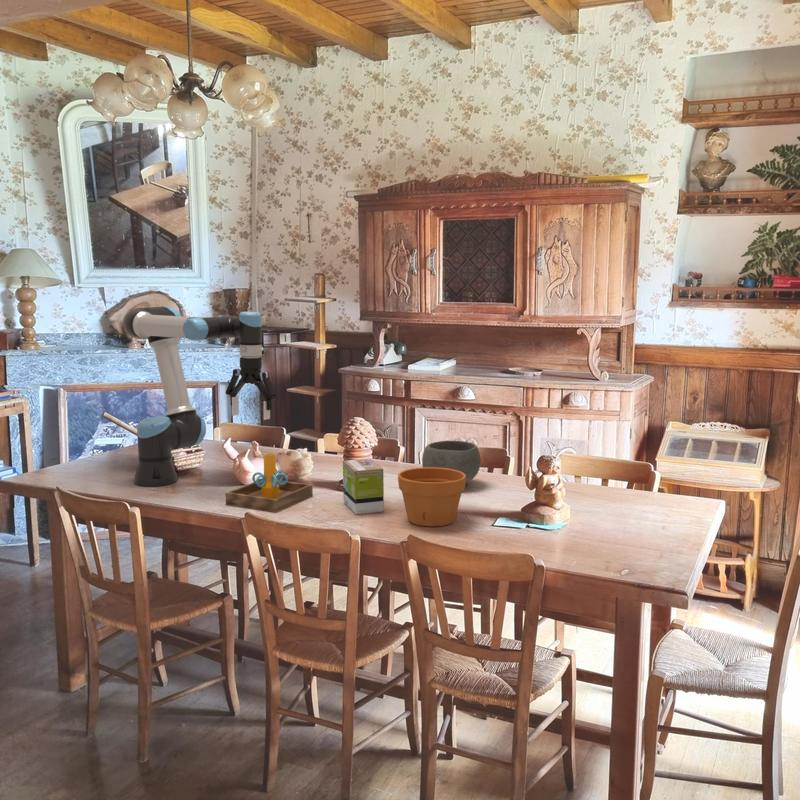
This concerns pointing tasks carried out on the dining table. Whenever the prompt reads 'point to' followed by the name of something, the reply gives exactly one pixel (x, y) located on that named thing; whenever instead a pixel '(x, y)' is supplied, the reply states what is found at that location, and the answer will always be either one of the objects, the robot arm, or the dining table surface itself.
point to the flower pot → (431, 494)
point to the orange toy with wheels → (270, 477)
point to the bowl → (453, 457)
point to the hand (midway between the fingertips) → (250, 417)
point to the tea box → (363, 486)
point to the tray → (253, 499)
